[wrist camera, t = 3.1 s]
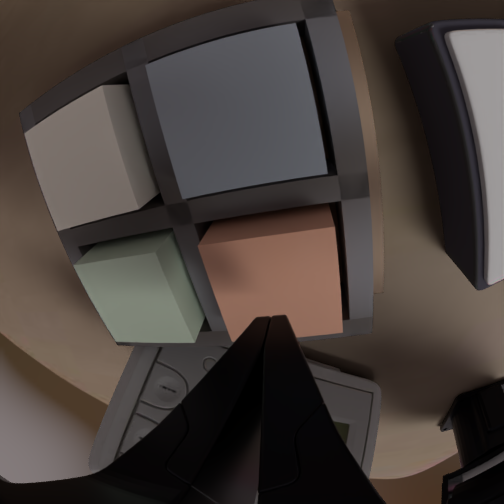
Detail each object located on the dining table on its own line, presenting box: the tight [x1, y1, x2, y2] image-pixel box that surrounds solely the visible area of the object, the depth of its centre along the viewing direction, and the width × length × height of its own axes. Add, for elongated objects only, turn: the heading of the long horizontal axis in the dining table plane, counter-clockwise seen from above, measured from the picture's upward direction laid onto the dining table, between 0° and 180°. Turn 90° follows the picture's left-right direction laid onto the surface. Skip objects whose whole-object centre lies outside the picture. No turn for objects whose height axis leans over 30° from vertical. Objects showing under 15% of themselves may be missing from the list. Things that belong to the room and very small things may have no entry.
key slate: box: [145, 23, 328, 199], centre depth 8 cm, size 4×4×2 cm
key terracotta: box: [198, 203, 343, 342], centre depth 10 cm, size 4×4×2 cm
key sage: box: [73, 228, 206, 343], centre depth 12 cm, size 4×4×2 cm
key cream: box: [24, 84, 160, 231], centre depth 9 cm, size 4×4×2 cm
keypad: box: [19, 0, 384, 347], centre depth 11 cm, size 12×14×4 cm
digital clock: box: [89, 346, 381, 504], centre depth 14 cm, size 16×9×11 cm, turn 57°
